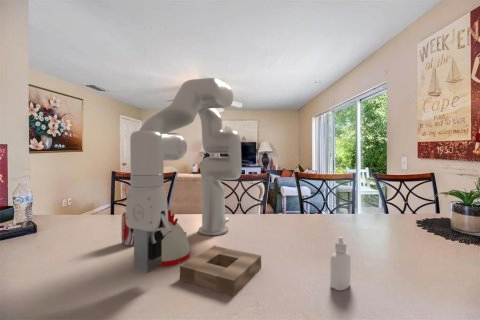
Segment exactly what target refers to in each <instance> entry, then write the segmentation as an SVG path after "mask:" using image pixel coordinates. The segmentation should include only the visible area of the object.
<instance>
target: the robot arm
mask: <svg viewBox="0 0 480 320" xmlns="http://www.w3.org/2000/svg"><path fill="white" fill-rule="evenodd" d="M233 101H234V93H233V90H232V87H231V86H229V84H227V83H225V82H223V81H221V80H220V79H217V78H215V77H214V78H213V77H207V78H205V77H204V78H193V79H188V80H186V81H184V82H183V83H182V85H181V86H180V88H179V90H178V91H177V92H176V94H175V96H174V98H173V99H172V101H171V103H170V105H168V106H166V107H164V108H162V109H161V110H160V111H159V112H156V113H155V114H153V115H152V116H150V117H149V118H148V119H147V120H146V121H144V123H143V124H142V125H141V127H140V129H139V130H136V131H133V132H131V134H130V137H129V139H130V140H129V141H130V142H129V143H130V144H129V145H130V147H129V148H130V150H129V152H130V155H129V156H130V157H129V158H130V159H129V160H130V162H129V163H130V165H129V166H130V187H129V188H128V189H127V190H128V192H127V195H126V196H127V197H126V203H125V204H126V205H125V206H126V207H125V210H126V225H127V226H128V227H129V228H130V230H131V232H132V234H133V239H134V229H136V230H141V231H146V232H150V236H151V242H152V243H150V260H154V259H156V258H158V257H160V256H161V255H162V247H161V241H162V240H163V239H164V237H165V236H166V235H167V234H168V233H170V232H171V227H170V225H169V223H168V210H169V209H168V199H167V192H166V188H165V187H164V182H165V181H164V178H165V177H164V161H177V160H180V159H182V158H183V157H184V156H185V154H186V153H187V149H188V144H187V141H186V139H185V138H184V137H183V136H182V135H181V134H179V133H176V132H173V131H175V130H179V129H183V128H184V127H186V126H189V125H190V124H192V123H193V122H194V121H195V119H196V117H197V115H198V116H199V119H200V124H201V139H202V140H201V141H202V149H203V151H204V152H205V153H207V154H216V155H217V154H219V155H220V154H225V155H226V154H227V155H228V156H206V157H204V158H203V159H201V161H200V164H199V171H200V177H201V186H202V187H201V190H202V191H201V195H202V196H201V198H202V199H201V202H202V203H201V211H202V212H201V217H202V218H201V226H200V227H198V231H197V232H198V233H199V234H201V235H202V236H219V235H224V234H226V233H228V232H229V227H228V226H226V224H227V223H229V221H230V219H229V217H225V215H226V211H225V210H226V209H225V208H226V207H225V206H226V201H225V200H226V196H225V194H226V193H225V192H226V190H225V186H224V184H222V183H223V182H221V180H227V181H228V180H229V181H231V180H233V181H234V180H238V179H239V178H240V177H241V175H242V170H243V168H242V142H241V141H242V140H241V136H240V134H239V133H238V132H237V131H236V130H232V129H231V130H229V129H228V130H225V129H223V119H222V115H221V114H220V113H219V112H218V111H217V109H226V108H227V109H228V108H229V107H231V106H232V104H233ZM156 231H157V233H158V234H157V235H156V234H155V232H156Z"/></svg>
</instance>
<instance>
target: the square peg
mask: <svg viewBox="0 0 480 320" xmlns="http://www.w3.org/2000/svg"><path fill="white" fill-rule="evenodd" d="M155 234H156V235H157V234H158V233H157V231H156V232H155ZM150 243H152V242H151V236H150V232H146V231H141V230H136V229H134V245H133V268H134V270H138V271H141V272H144V273H149V272H151V271H153V270H155V269H158V268H160V267H159V266H161V265H162V255H161V256H160V257H158V258H156V259H154V260H150ZM161 247H162V241H161Z"/></svg>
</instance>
